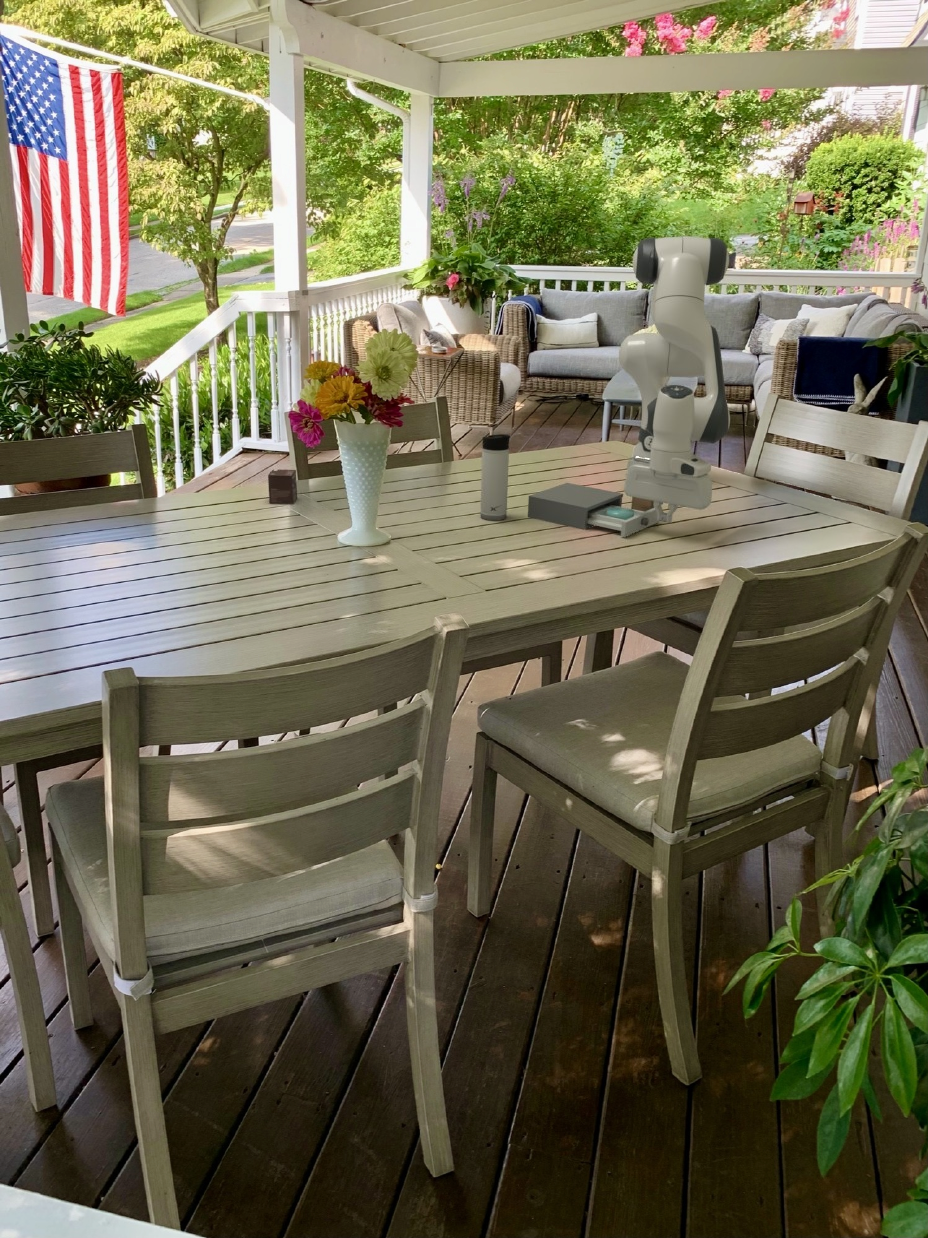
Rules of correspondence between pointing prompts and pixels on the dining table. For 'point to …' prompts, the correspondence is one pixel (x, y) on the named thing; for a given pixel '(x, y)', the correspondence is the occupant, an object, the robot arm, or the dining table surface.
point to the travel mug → (494, 477)
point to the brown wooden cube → (641, 504)
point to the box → (282, 486)
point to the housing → (570, 504)
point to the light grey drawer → (625, 526)
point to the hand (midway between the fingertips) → (664, 521)
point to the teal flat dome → (620, 513)
